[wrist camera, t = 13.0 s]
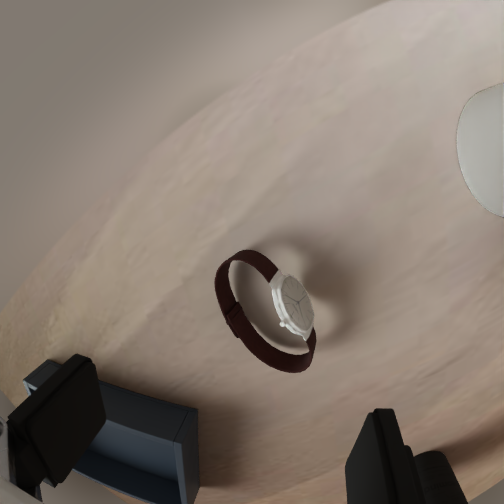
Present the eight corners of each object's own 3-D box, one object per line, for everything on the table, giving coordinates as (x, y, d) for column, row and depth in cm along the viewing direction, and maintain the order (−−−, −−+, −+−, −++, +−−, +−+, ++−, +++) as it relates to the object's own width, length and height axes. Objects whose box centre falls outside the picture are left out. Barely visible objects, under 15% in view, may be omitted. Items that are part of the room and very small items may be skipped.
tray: (74, 442, 27) (58, 463, 24) (47, 359, 24) (22, 379, 20) (199, 487, 25) (189, 515, 22) (197, 409, 22) (181, 444, 18)
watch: (335, 336, 19) (339, 370, 15) (270, 366, 20) (262, 401, 17) (270, 229, 18) (261, 244, 14) (202, 269, 19) (181, 291, 16)
